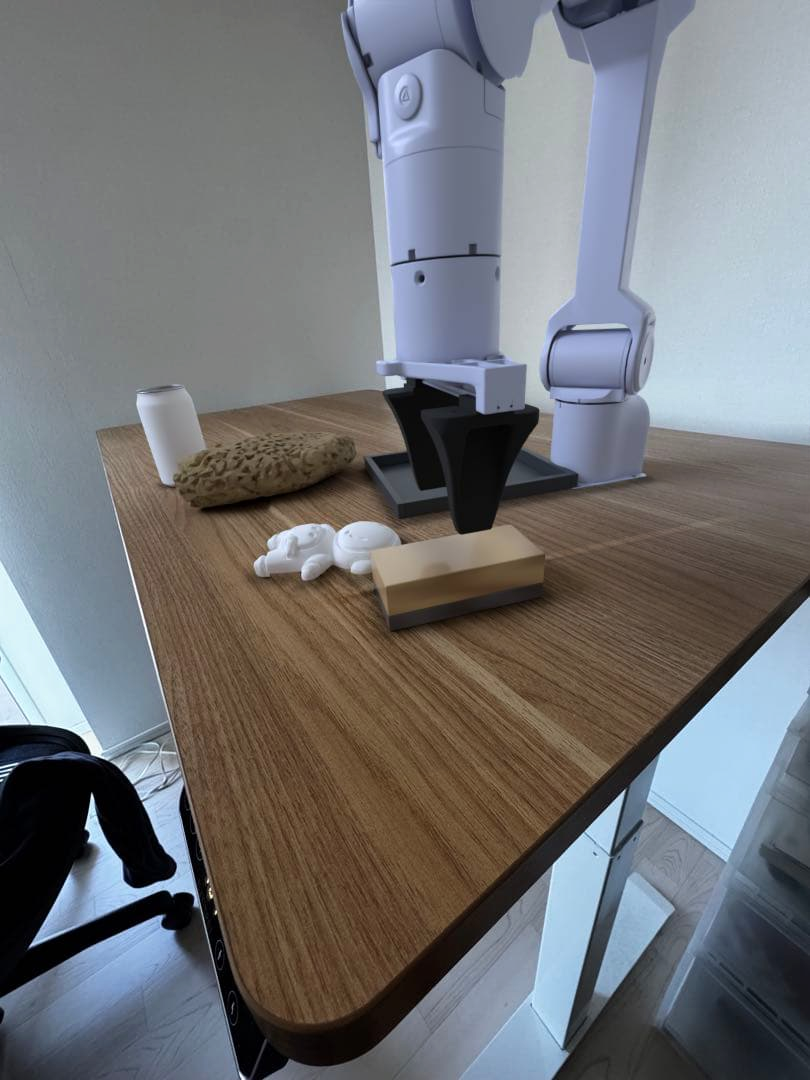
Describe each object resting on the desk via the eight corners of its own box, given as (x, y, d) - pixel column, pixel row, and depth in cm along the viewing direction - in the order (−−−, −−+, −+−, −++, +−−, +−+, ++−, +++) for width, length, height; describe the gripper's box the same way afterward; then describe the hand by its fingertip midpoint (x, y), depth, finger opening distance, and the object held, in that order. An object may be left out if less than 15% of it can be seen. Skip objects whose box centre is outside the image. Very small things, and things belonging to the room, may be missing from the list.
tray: (502, 451, 63) (502, 436, 62) (576, 492, 47) (578, 473, 47) (365, 471, 59) (363, 456, 58) (399, 524, 43) (397, 504, 43)
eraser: (509, 563, 36) (510, 523, 34) (542, 597, 31) (546, 553, 30) (374, 591, 33) (369, 550, 32) (389, 632, 29) (385, 586, 27)
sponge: (189, 533, 48) (365, 474, 49) (155, 463, 46) (340, 402, 46) (222, 508, 61) (361, 461, 61) (197, 452, 58) (342, 404, 59)
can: (218, 479, 60) (192, 386, 55) (166, 491, 57) (134, 394, 52) (207, 468, 65) (183, 382, 60) (159, 479, 62) (129, 389, 57)
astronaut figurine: (281, 537, 43) (274, 508, 41) (405, 533, 42) (403, 503, 40) (245, 587, 35) (235, 554, 34) (396, 585, 34) (393, 550, 32)
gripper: (347, 280, 29) (369, 481, 35) (408, 246, 16) (426, 571, 22) (451, 274, 30) (454, 468, 36) (581, 238, 17) (553, 545, 24)
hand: (450, 506), depth 29 cm, fingers open, 7 cm apart
